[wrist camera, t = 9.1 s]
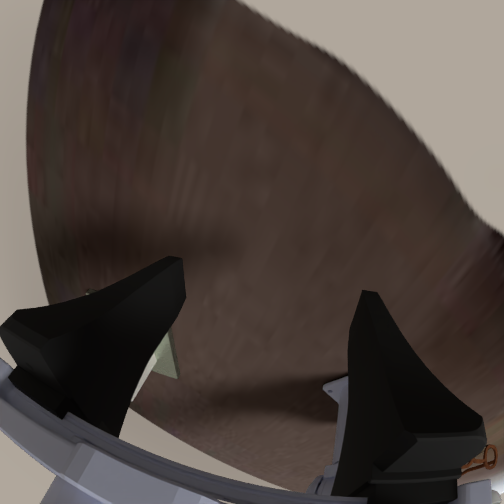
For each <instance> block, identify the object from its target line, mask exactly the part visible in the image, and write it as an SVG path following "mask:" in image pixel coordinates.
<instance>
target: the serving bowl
mask: <svg viewBox="0 0 504 504" xmlns="http://www.w3.org/2000/svg"><path fill="white" fill-rule="evenodd" d="M501 502H502V499H501V496H500V494H499V493H498V492H497V491H495V490H492V504H500V503H501Z"/></svg>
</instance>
